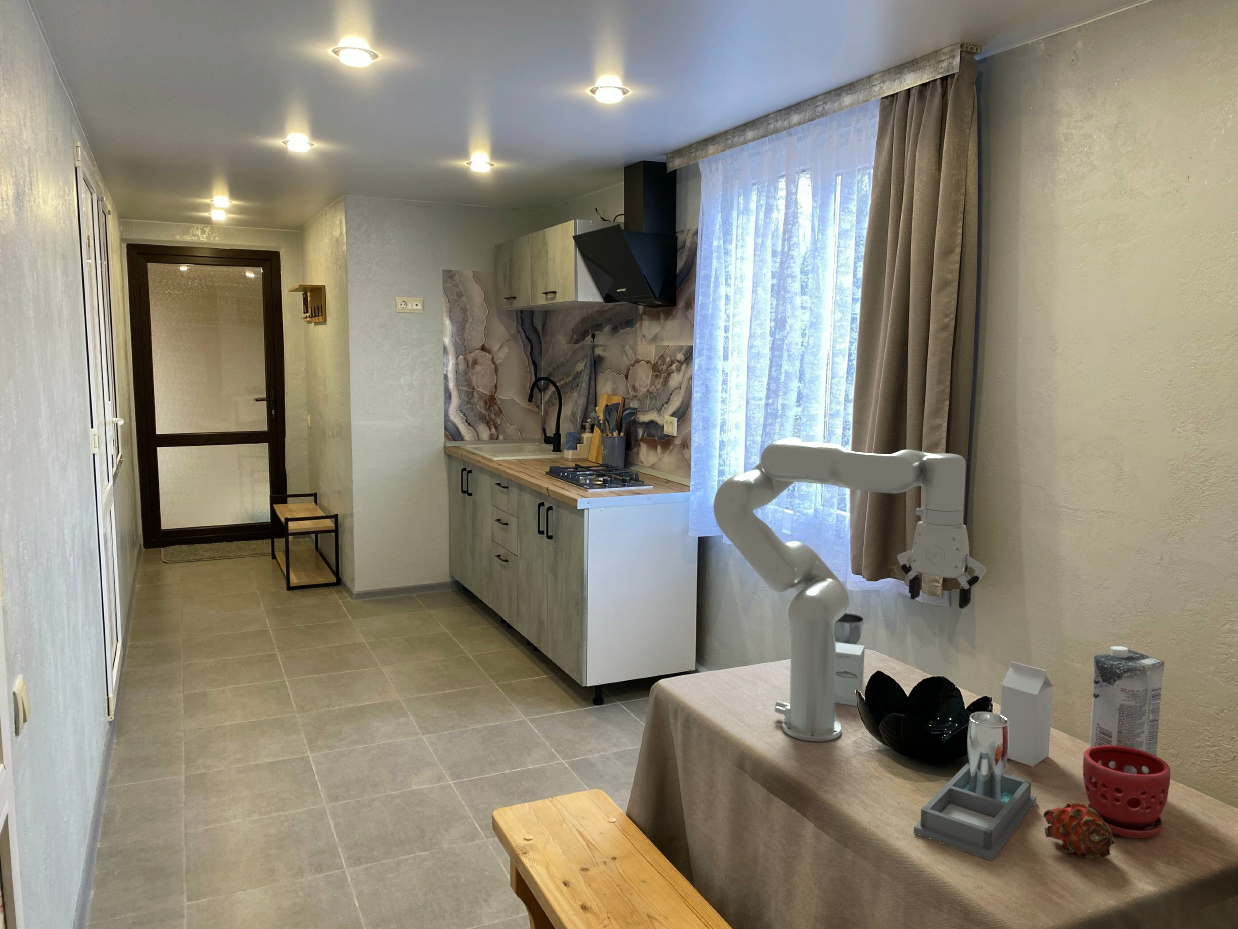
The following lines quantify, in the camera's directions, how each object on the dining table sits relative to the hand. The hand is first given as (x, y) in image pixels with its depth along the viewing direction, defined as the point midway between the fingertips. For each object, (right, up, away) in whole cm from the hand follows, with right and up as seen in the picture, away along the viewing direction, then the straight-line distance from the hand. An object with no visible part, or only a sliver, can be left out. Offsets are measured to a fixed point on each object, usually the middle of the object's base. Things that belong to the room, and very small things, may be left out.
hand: (938, 602), depth 178 cm
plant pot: (+24, -36, -21) cm, 48 cm away
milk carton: (+19, -32, +5) cm, 37 cm away
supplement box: (-10, -28, +34) cm, 45 cm away
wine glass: (-6, -26, +49) cm, 56 cm away
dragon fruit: (+12, -37, -29) cm, 48 cm away
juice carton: (+30, -34, -9) cm, 46 cm away
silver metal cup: (+3, -33, -15) cm, 37 cm away
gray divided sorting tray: (0, -35, -19) cm, 40 cm away
